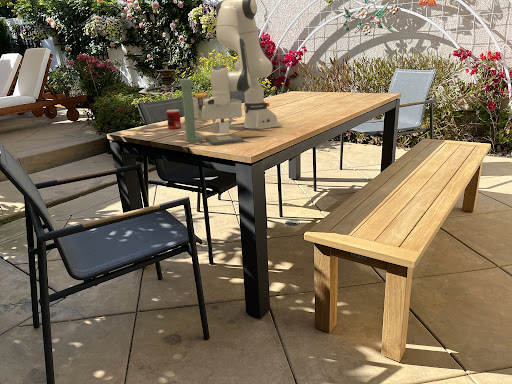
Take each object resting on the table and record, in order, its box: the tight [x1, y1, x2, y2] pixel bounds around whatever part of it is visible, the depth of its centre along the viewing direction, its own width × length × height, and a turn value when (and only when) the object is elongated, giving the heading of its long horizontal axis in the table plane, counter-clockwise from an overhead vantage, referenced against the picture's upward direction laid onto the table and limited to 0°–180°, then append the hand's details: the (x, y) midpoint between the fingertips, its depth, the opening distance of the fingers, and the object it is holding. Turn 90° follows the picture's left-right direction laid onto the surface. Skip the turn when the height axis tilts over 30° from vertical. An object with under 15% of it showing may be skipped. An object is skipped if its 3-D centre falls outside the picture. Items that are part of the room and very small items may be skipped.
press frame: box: [179, 78, 202, 144], centre depth 206 cm, size 7×8×31 cm
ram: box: [192, 92, 208, 118], centre depth 207 cm, size 8×6×12 cm
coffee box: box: [192, 95, 208, 122], centre depth 271 cm, size 9×6×16 cm
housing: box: [216, 119, 230, 134], centre depth 205 cm, size 5×5×7 cm
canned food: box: [166, 108, 182, 131], centre depth 246 cm, size 8×8×11 cm
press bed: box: [205, 133, 244, 146], centre depth 208 cm, size 16×14×2 cm
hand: (222, 127), depth 206 cm, fingers closed on housing, 5 cm apart
